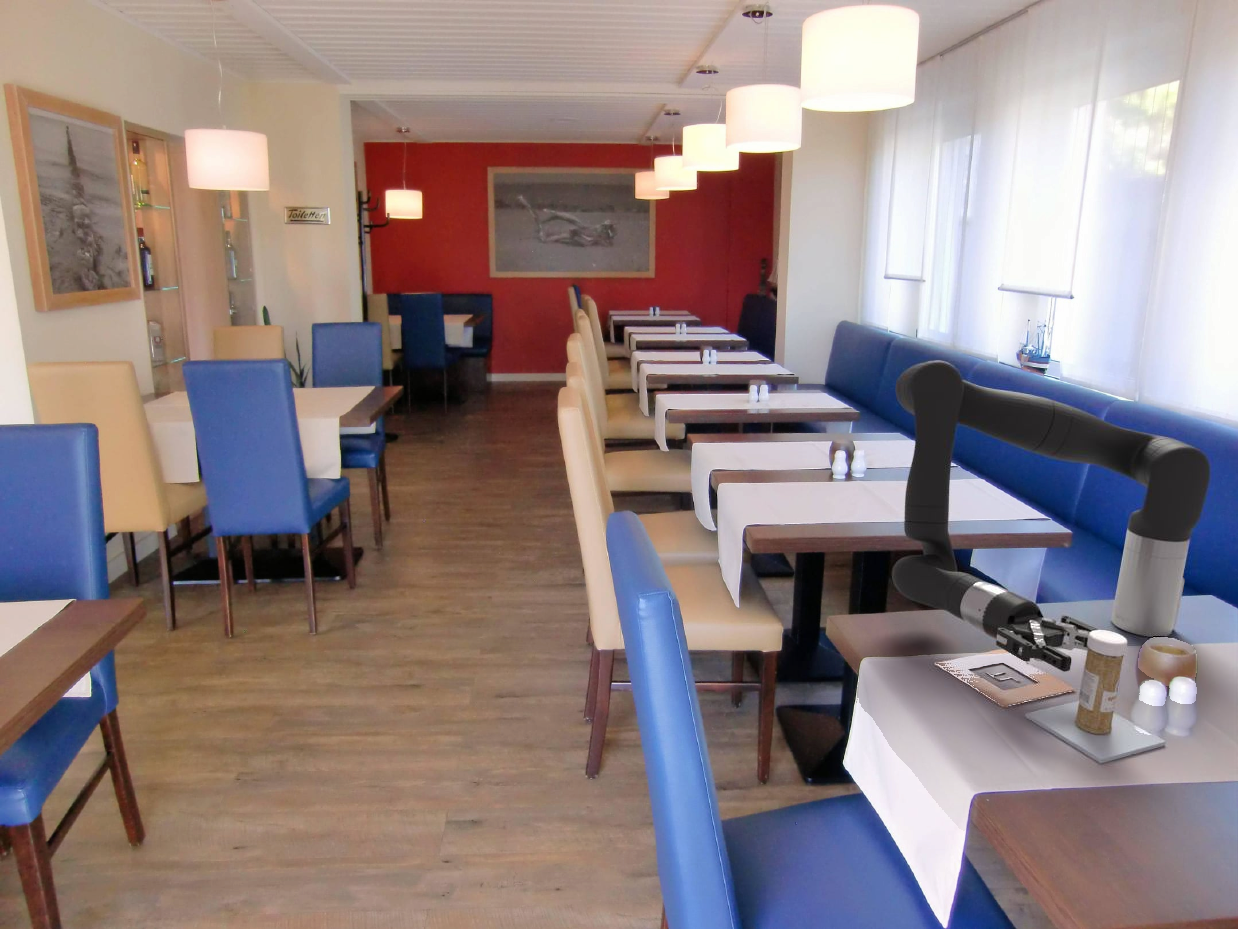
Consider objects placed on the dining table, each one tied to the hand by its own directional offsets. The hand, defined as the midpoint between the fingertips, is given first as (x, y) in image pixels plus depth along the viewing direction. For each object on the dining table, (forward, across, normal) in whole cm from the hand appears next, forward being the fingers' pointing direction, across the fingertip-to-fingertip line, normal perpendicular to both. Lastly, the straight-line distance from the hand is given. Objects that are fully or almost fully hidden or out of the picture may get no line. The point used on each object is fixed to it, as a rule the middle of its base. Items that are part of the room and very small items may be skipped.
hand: (1092, 660), depth 120 cm
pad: (+2, 0, +10) cm, 10 cm away
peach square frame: (-14, 0, +10) cm, 17 cm away
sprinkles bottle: (+2, 0, +9) cm, 9 cm away
